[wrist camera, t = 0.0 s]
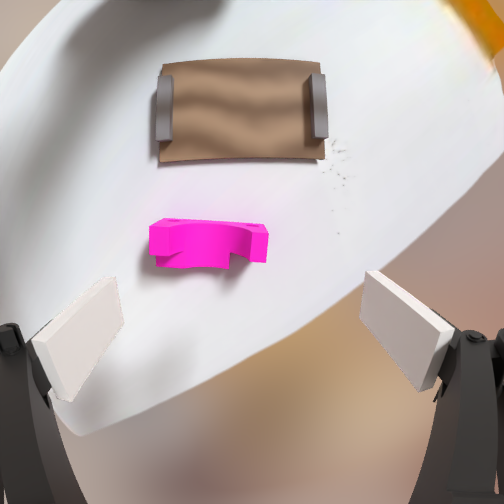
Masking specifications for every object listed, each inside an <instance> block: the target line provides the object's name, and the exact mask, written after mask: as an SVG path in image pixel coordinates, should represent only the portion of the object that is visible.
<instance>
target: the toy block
mask: <svg viewBox="0 0 504 504" xmlns="http://www.w3.org/2000/svg"><path fill="white" fill-rule="evenodd" d="M268 236H269V233H268V231H267V230H266V228H265V226H264V224H253V223H239V222H224V221H208V220H190V219H170V218H163V219H162V220H160V221H158V222H156V223H154V224H152V225H150V226H149V255H156V266H157V267H170V268H183V269H184V268H190V267H218V268H224V269H229V261H230V253H235V254H238V255H241V256H243V257H245V258H247V259H248V260H249V261H250V262H262V263H266V257H267V247H268Z"/></svg>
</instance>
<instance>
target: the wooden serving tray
mask: <svg viewBox="0 0 504 504" xmlns="http://www.w3.org/2000/svg"><path fill="white" fill-rule="evenodd" d="M326 138H329V137H328V112H327V95H326V81H325V74H321V71H320V63H318V62H310V61H300V60H287V59H268V58H227V59H208V60H195V61H185V62H177V63H169V64H163V67H162V76H158V84H157V104H156V141H158V142H160V162H173V161H186V160H202V159H225V158H301V159H325V147H324V139H326Z"/></svg>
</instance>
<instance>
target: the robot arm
mask: <svg viewBox="0 0 504 504" xmlns="http://www.w3.org/2000/svg"><path fill="white" fill-rule="evenodd" d="M359 318H360V319H361V321H362V322H363V323H364V324H365V325H366V327H367V328H368V329H369V330H370V332H371V333H372V334H373V335H374V336H375V338H376V339H377V340H378V341H379V343H380V344H381V345H382V346H383V348H384V349H385V350H386V351H387V353H388V354H389V355H390V356H391V358H392V359H393V360H394V361H395V363H396V364H397V365H398V367H399V368H400V369H401V371H402V372H403V373H404V374H405V376H406V377H407V378H408V380H409V381H410V382H411V384H412V385H413V386H414V388H415V389H416V390H417V391H418V392H421V391H424V390H428V389H430V388H432V387H433V386H434V383H435V381H436V378H437V376H439V377H440V379H441V380H442V383H441V386H440V388H439V390H438V392H437V394H436V396H435V398H434V400H433V402H435V401H436V399H437V405H436V412H435V416H434V422H433V426H432V430H431V435H430V439H429V443H428V447H427V450H426V454H425V457H424V461H423V464H422V467H421V471H420V474H419V477H418V480H417V482H416V485H415V488H414V491H413V493H412V496H411V498H410V501H409V503H408V504H504V328H503V329H500V330H499V332H498V334H497V337H496V340H487V338H486V337H485V336H484V335H483V334H481V333H479V332H477V331H474V330H466V331H463V332H461V331H460V330H459V329H457V328H456V327H455V326H454V325H452V324H451V323H450V322H448V321H447V320H446V319H445V318H443V317H442V316H440V314H438V313H437V312H435V311H434V310H432V309H430V308H428V307H426V306H425V305H424V304H422V303H421V302H420V301H419V300H417V299H416V298H415V297H413V296H412V295H411V294H409V293H408V292H407V291H405V290H404V289H402V288H401V287H399V286H398V285H397V284H396V283H394V282H393V281H391V280H390V279H389V278H387V277H386V276H384V275H383V274H382V273H380V272H379V271H366V272H365V280H364V288H363V297H362V303H361V309H360V315H359ZM123 325H124V319H123V314H122V309H121V304H120V299H119V294H118V288H117V282H116V277H103V278H102V279H100V280H99V281H98V282H97V283H95V284H94V285H93V286H92V287H90V288H89V289H88V290H87V291H86V292H84V293H83V294H82V295H81V296H80V297H78V298H77V299H76V300H75V301H74V302H72V303H71V304H70V305H69V306H68V307H67V308H65V309H64V310H63V311H62V312H61V313H60V314H59V315H57V316H56V317H55V318H54V319H52V320H51V321H49V322H48V323H47V324H46V325H45V327H43V328H42V329H41V330H40V332H39V331H38V332H37V333H36V334H35V335H34V336H33V337H32V338H31V339H30V340H29V341H28V342H27V343H25V342H24V339H23V337H22V334H21V331H20V328H19V325H18V324H16V323H7V324H4V325H1V326H0V504H4V490H5V494H6V498H7V502H8V504H87V502H86V500H85V497H84V495H83V493H82V491H81V489H80V487H79V484H78V482H77V480H76V477H75V475H74V473H73V470H72V468H71V465H70V463H69V460H68V457H67V454H66V451H65V448H64V445H63V442H62V439H61V436H60V433H59V429H58V426H57V422H56V419H55V415H54V411H53V407H52V402H51V399H50V397H49V395H48V391H49V390H50V388H51V387H52V389H53V391H54V393H55V395H56V397H57V399H61V400H64V401H68V402H72V401H73V400H74V398H75V396H76V395H77V393H78V392H79V390H80V388H81V387H82V385H83V384H84V382H85V381H86V379H87V378H88V376H89V374H90V373H91V371H92V370H93V368H94V367H95V365H96V364H97V362H98V361H99V359H100V358H101V356H102V355H103V354H104V352H105V351H106V349H107V348H108V346H109V345H110V343H111V342H112V340H113V339H114V338H115V336H116V335H117V333H118V332H119V330H120V329H121V328H122V326H123ZM496 470H497V477H498V487H499V494H495V492H494V486H495V478H496Z"/></svg>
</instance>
